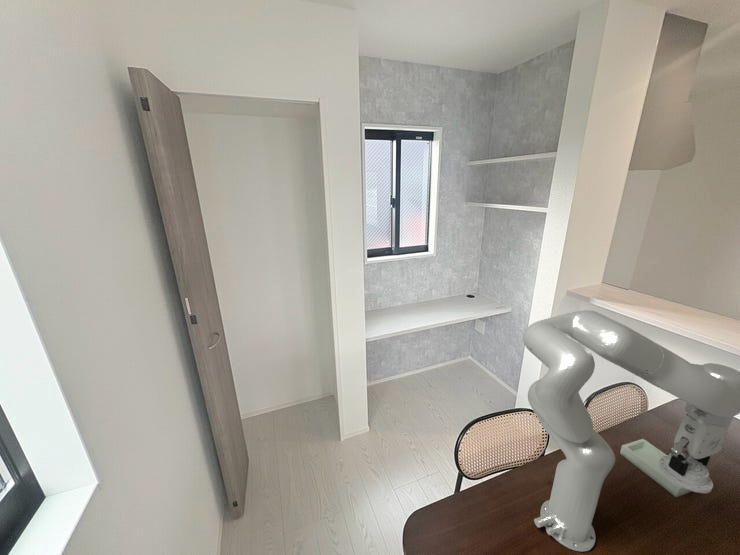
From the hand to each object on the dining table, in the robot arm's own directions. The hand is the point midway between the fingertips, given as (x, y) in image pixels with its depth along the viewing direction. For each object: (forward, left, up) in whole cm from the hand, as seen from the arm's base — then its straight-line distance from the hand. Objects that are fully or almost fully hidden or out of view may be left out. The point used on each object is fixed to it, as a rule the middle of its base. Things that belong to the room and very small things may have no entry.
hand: (686, 466), depth 78 cm
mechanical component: (0, 0, -3) cm, 3 cm away
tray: (+13, +11, -18) cm, 24 cm away
